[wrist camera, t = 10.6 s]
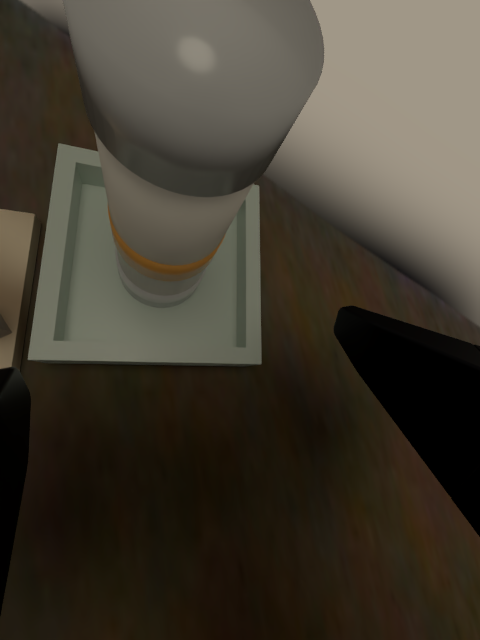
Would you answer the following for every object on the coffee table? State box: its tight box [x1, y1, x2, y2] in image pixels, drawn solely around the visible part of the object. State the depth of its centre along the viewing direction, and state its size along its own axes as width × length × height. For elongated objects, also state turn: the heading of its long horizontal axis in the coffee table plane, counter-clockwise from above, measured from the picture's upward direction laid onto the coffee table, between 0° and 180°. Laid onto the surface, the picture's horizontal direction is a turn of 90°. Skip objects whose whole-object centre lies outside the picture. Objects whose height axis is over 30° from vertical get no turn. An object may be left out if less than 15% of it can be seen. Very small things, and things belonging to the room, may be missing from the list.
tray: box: [28, 144, 261, 366], centre depth 16 cm, size 10×10×2 cm
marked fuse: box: [63, 0, 324, 308], centre depth 10 cm, size 4×4×12 cm
